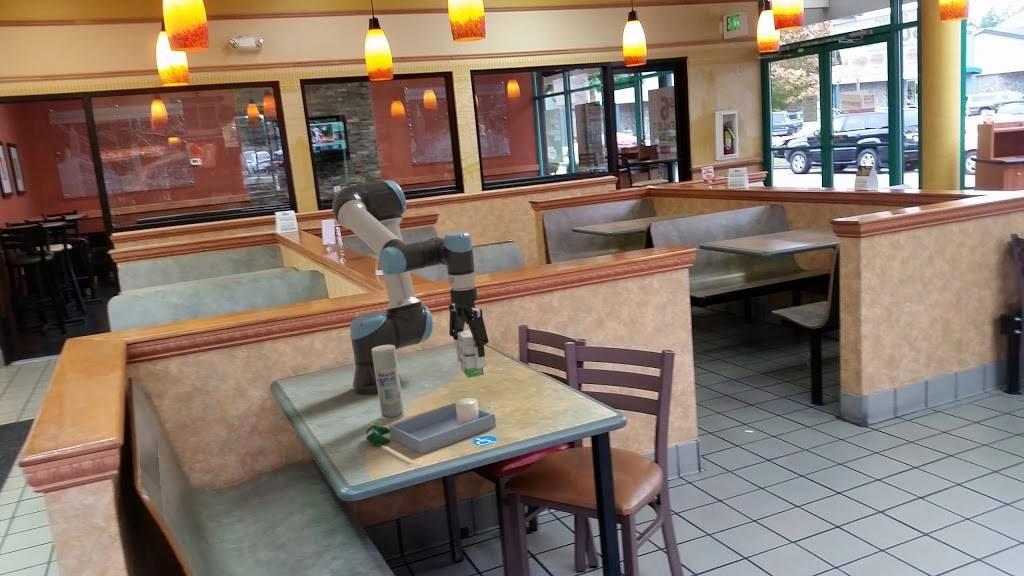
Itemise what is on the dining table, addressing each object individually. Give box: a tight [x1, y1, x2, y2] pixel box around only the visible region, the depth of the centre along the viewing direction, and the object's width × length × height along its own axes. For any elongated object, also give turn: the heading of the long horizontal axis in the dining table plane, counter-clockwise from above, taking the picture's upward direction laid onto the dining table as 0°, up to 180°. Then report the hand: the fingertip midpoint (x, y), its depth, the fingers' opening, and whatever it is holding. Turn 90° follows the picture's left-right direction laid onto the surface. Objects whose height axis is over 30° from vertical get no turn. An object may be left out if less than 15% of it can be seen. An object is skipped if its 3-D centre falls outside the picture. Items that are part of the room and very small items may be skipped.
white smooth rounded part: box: [454, 397, 479, 426], centre depth 195 cm, size 6×6×7 cm
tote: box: [388, 403, 497, 455], centre depth 194 cm, size 16×22×4 cm
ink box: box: [457, 329, 485, 379], centre depth 217 cm, size 9×5×12 cm, turn 17°
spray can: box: [371, 345, 405, 422], centre depth 211 cm, size 6×6×20 cm
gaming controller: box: [365, 422, 391, 447], centre depth 195 cm, size 9×4×6 cm
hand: (471, 363), depth 218 cm, fingers closed on ink box, 9 cm apart
